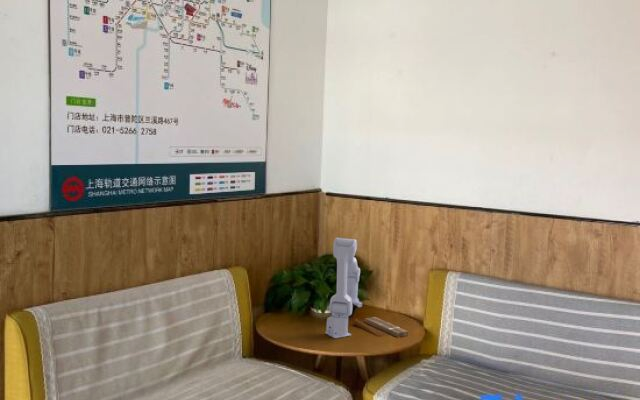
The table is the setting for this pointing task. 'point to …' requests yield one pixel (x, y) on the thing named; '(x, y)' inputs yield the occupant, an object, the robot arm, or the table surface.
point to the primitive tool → (368, 328)
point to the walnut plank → (386, 327)
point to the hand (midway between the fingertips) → (350, 317)
